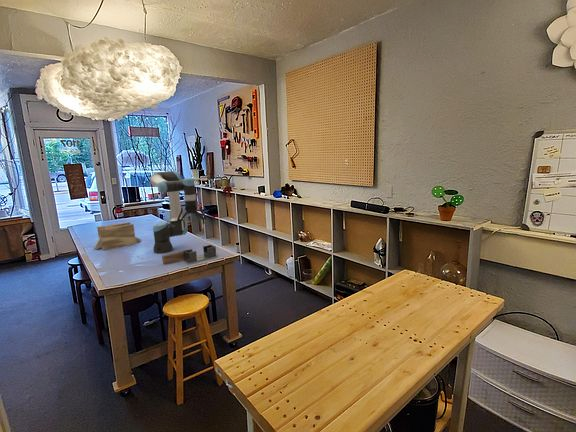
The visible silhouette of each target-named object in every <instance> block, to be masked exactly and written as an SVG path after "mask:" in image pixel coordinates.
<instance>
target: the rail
mask: <svg viewBox="0 0 576 432" xmlns="http://www.w3.org/2000/svg"><path fill="white" fill-rule="evenodd" d="M183 251H184V250H181V251H177V252H173V253H172V252H171V253H168V254H162V255H161V261H162V264H163V265H168V264H172V263H178V262H181V261H183V260H184V252H183Z"/></svg>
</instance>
